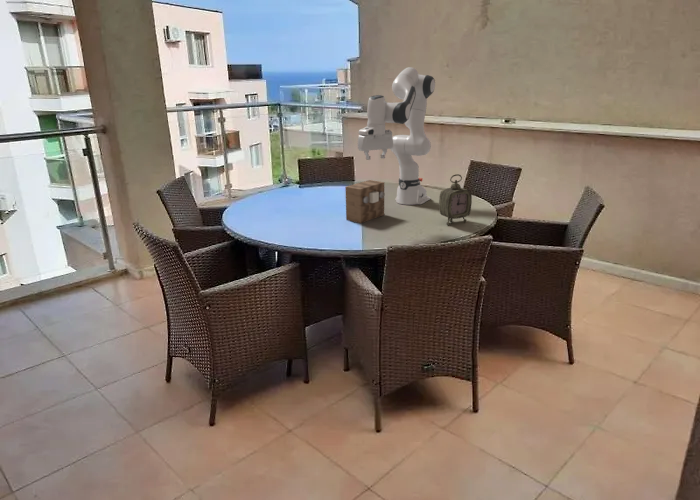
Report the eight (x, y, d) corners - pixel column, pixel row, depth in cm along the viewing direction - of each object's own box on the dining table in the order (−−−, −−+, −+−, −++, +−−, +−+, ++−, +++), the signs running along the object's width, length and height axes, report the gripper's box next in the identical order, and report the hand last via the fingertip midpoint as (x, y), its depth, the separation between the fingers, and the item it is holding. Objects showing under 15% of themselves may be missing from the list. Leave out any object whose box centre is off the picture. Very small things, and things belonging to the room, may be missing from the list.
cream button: (372, 199, 258) (371, 190, 256) (378, 201, 255) (378, 191, 253) (366, 201, 254) (365, 192, 252) (372, 203, 251) (372, 193, 250)
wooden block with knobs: (370, 211, 271) (369, 179, 265) (386, 215, 264) (386, 182, 257) (346, 219, 257) (345, 186, 251) (362, 223, 250) (362, 189, 243)
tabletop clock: (446, 226, 242) (449, 177, 233) (436, 222, 249) (438, 174, 241) (470, 222, 247) (473, 174, 239) (459, 218, 255) (462, 171, 246)
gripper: (387, 129, 243) (387, 156, 248) (355, 130, 232) (355, 159, 236) (396, 129, 239) (395, 158, 243) (364, 131, 227) (363, 161, 231)
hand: (375, 159), depth 239 cm, fingers open, 8 cm apart
